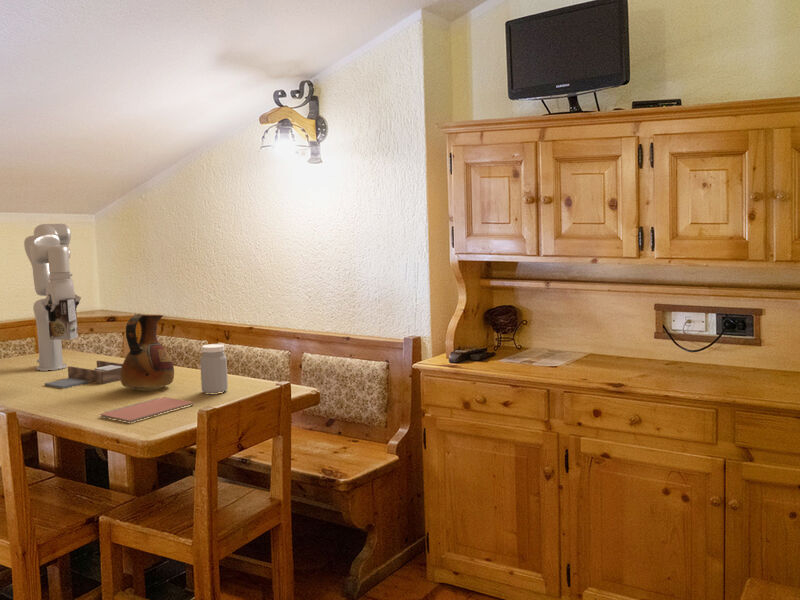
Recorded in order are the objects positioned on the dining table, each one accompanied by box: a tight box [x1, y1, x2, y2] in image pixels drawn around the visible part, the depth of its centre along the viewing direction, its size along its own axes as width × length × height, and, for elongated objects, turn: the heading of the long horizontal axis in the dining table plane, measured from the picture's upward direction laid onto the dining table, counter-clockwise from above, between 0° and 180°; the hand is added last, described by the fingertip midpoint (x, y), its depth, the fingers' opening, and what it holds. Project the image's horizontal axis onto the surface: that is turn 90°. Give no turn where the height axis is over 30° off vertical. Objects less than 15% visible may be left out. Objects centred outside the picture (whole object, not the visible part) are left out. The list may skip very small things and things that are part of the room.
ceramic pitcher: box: [120, 313, 175, 392], centre depth 293 cm, size 20×20×30 cm
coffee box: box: [47, 298, 79, 341], centre depth 302 cm, size 9×6×16 cm
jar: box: [199, 343, 229, 394], centre depth 287 cm, size 10×10×18 cm
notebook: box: [99, 396, 195, 423], centre depth 261 cm, size 27×17×2 cm, turn 147°
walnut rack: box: [67, 359, 123, 385], centre depth 317 cm, size 23×15×5 cm, turn 58°
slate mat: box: [44, 377, 90, 389], centre depth 305 cm, size 12×12×1 cm
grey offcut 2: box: [101, 366, 121, 371], centre depth 313 cm, size 4×8×5 cm, turn 148°
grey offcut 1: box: [93, 365, 115, 371], centre depth 315 cm, size 4×8×5 cm, turn 145°
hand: (62, 319), depth 302 cm, fingers closed on coffee box, 8 cm apart
